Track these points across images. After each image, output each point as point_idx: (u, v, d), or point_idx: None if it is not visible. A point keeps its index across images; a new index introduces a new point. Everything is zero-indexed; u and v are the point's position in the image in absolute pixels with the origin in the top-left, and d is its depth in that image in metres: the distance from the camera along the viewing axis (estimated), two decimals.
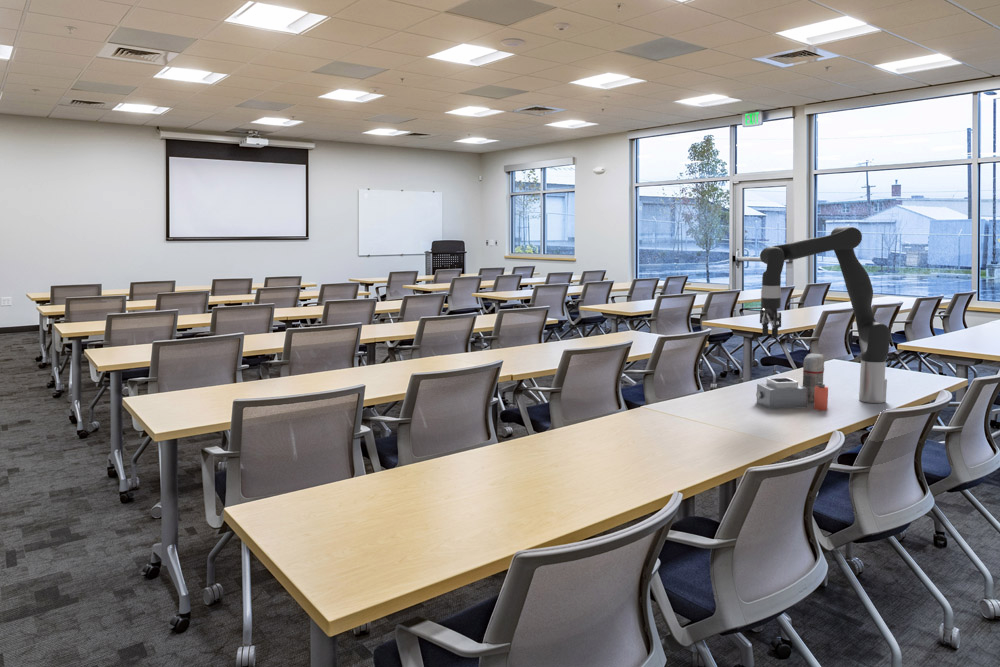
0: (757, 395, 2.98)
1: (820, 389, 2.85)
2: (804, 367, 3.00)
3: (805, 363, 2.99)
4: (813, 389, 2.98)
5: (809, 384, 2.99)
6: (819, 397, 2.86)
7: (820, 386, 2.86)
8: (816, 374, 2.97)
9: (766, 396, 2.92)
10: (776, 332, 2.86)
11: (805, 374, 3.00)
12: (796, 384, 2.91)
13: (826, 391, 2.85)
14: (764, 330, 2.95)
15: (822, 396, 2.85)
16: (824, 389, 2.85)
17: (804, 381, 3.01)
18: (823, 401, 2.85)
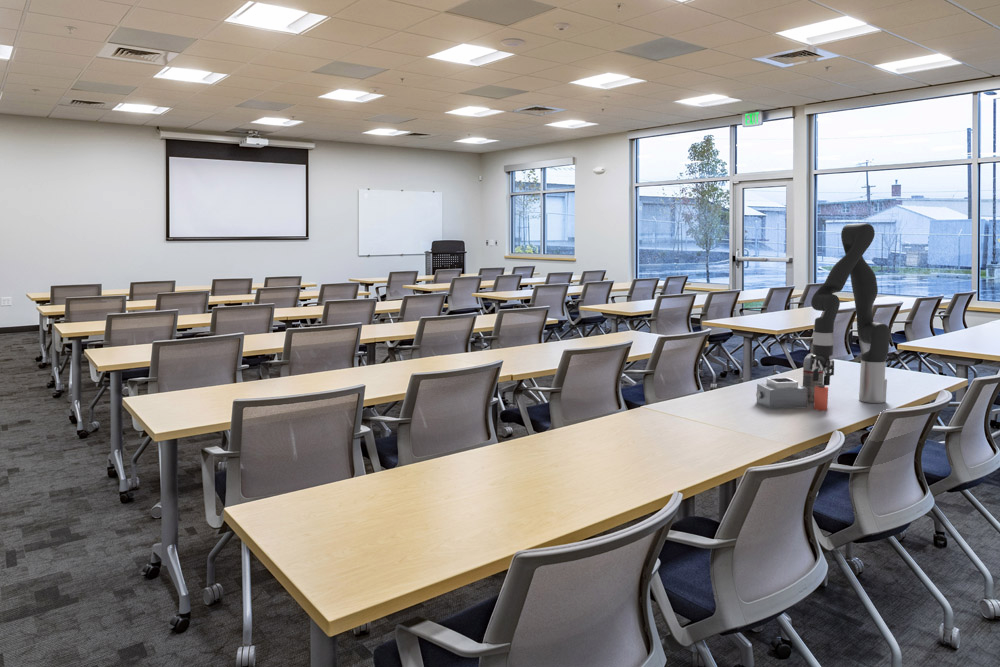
0: (757, 395, 2.98)
1: (820, 389, 2.85)
2: (804, 367, 3.00)
3: (805, 363, 2.99)
4: (813, 389, 2.98)
5: (809, 384, 2.99)
6: (819, 397, 2.86)
7: (820, 386, 2.86)
8: None
9: (766, 396, 2.92)
10: (828, 380, 2.81)
11: (805, 374, 3.00)
12: (796, 384, 2.91)
13: (826, 391, 2.85)
14: (814, 376, 2.90)
15: (822, 396, 2.85)
16: (824, 389, 2.85)
17: (804, 381, 3.01)
18: (823, 401, 2.85)
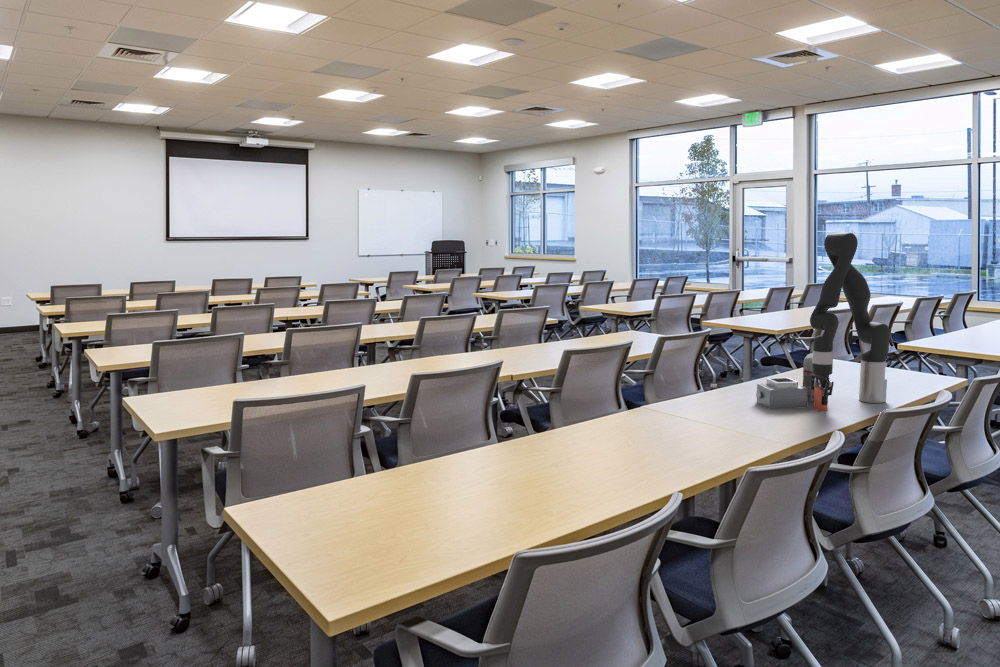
0: (757, 395, 2.98)
1: None
2: (804, 367, 3.00)
3: (805, 363, 2.99)
4: None
5: (809, 384, 2.99)
6: (819, 397, 2.86)
7: None
8: None
9: (766, 396, 2.92)
10: (826, 400, 2.84)
11: (805, 374, 3.00)
12: (796, 384, 2.91)
13: None
14: None
15: None
16: None
17: (804, 381, 3.01)
18: None
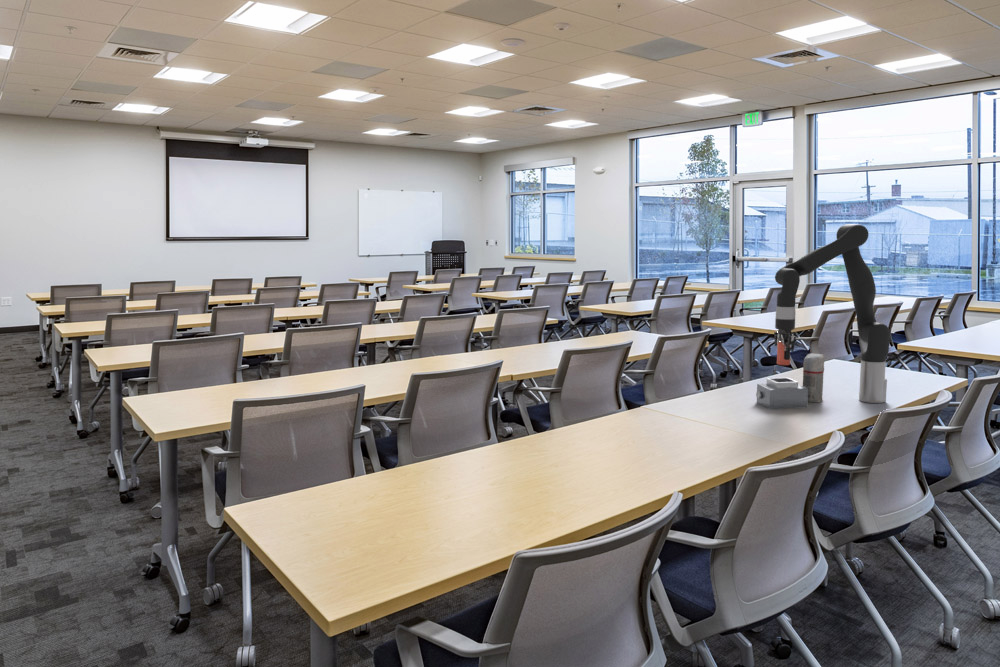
0: (757, 395, 2.98)
1: None
2: (804, 367, 3.00)
3: (805, 363, 2.99)
4: (813, 389, 2.98)
5: (809, 384, 2.99)
6: (782, 352, 2.91)
7: None
8: (816, 374, 2.97)
9: (766, 396, 2.92)
10: (788, 354, 2.89)
11: (805, 374, 3.00)
12: (796, 384, 2.91)
13: None
14: None
15: (784, 350, 2.90)
16: None
17: (804, 381, 3.01)
18: None
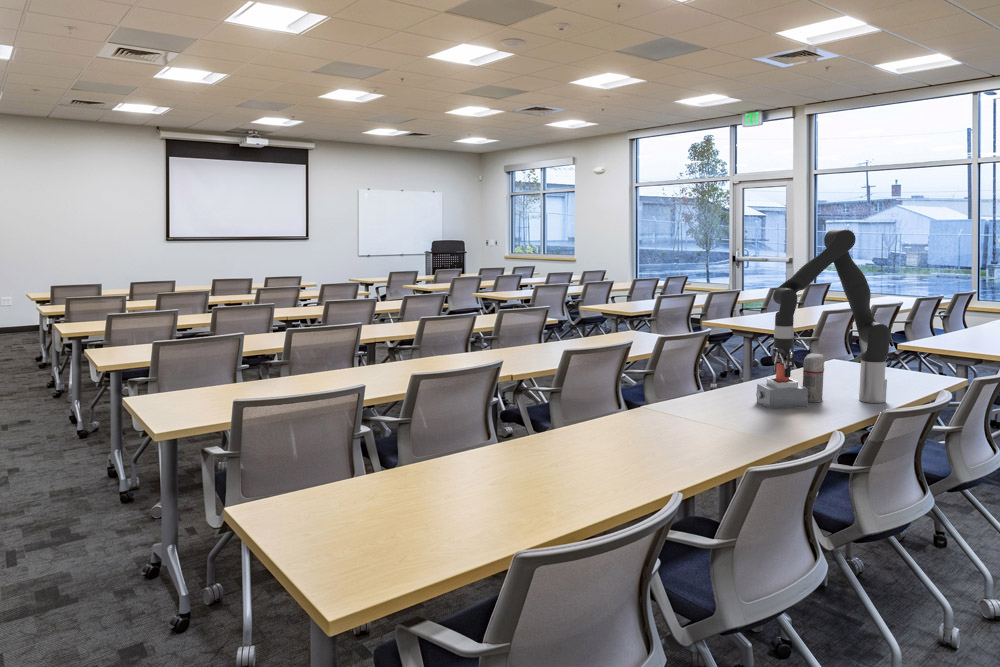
0: (757, 395, 2.98)
1: (781, 366, 2.92)
2: (804, 367, 3.00)
3: (805, 363, 2.99)
4: (813, 389, 2.98)
5: (809, 384, 2.99)
6: (781, 374, 2.92)
7: (781, 363, 2.93)
8: (816, 374, 2.97)
9: (766, 396, 2.92)
10: (789, 372, 2.89)
11: (805, 374, 3.00)
12: (796, 384, 2.91)
13: None
14: None
15: (783, 372, 2.92)
16: None
17: (804, 381, 3.01)
18: (784, 378, 2.92)
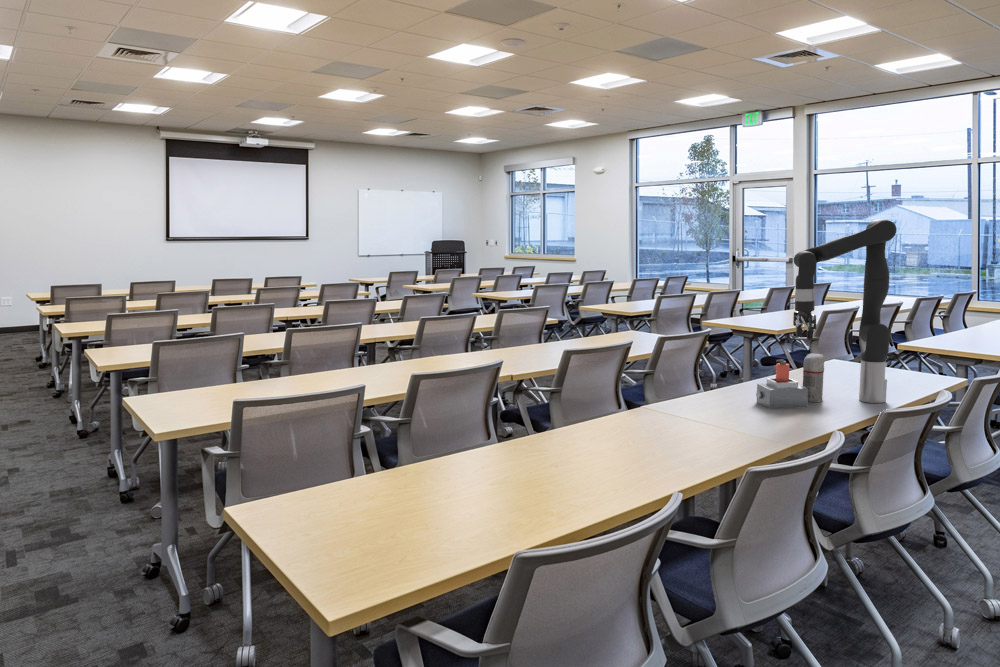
0: (757, 395, 2.98)
1: (781, 366, 2.92)
2: (804, 367, 3.00)
3: (805, 363, 2.99)
4: (813, 389, 2.98)
5: (809, 384, 2.99)
6: (781, 374, 2.92)
7: (781, 363, 2.93)
8: (816, 374, 2.97)
9: (766, 396, 2.92)
10: (811, 334, 2.93)
11: (805, 374, 3.00)
12: (796, 384, 2.91)
13: (787, 368, 2.92)
14: (798, 332, 3.02)
15: (783, 372, 2.92)
16: (785, 366, 2.92)
17: (804, 381, 3.01)
18: (784, 378, 2.92)
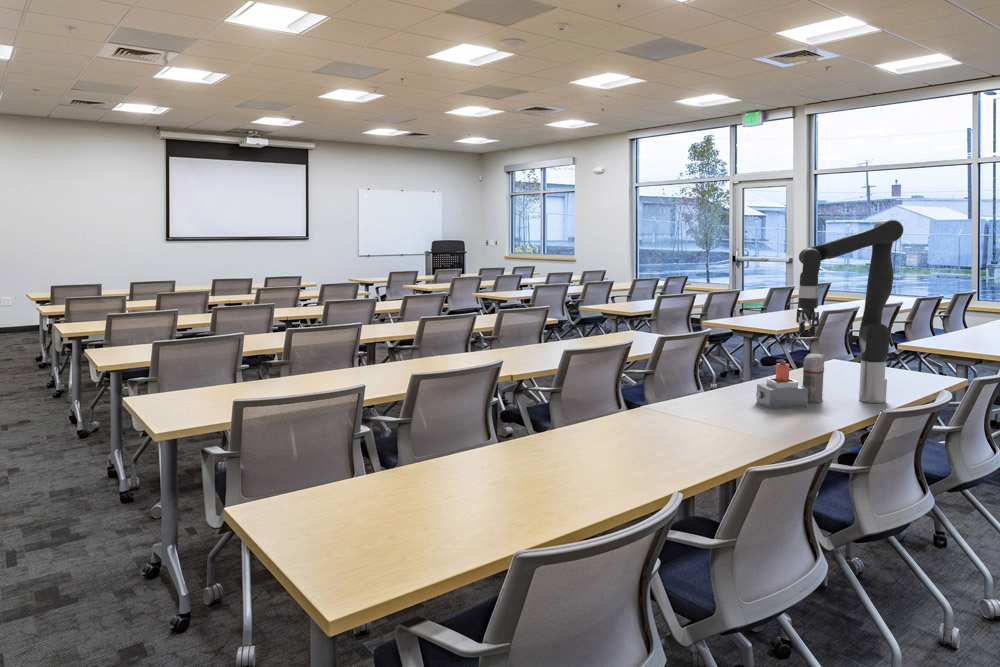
0: (757, 395, 2.98)
1: (781, 366, 2.92)
2: (804, 367, 3.00)
3: (805, 363, 2.99)
4: (813, 389, 2.98)
5: (809, 384, 2.99)
6: (781, 374, 2.92)
7: (781, 363, 2.93)
8: (816, 374, 2.97)
9: (766, 396, 2.92)
10: (814, 331, 2.94)
11: (805, 374, 3.00)
12: (796, 384, 2.91)
13: (787, 368, 2.92)
14: (801, 329, 3.03)
15: (783, 372, 2.92)
16: (785, 366, 2.92)
17: (804, 381, 3.01)
18: (784, 378, 2.92)
